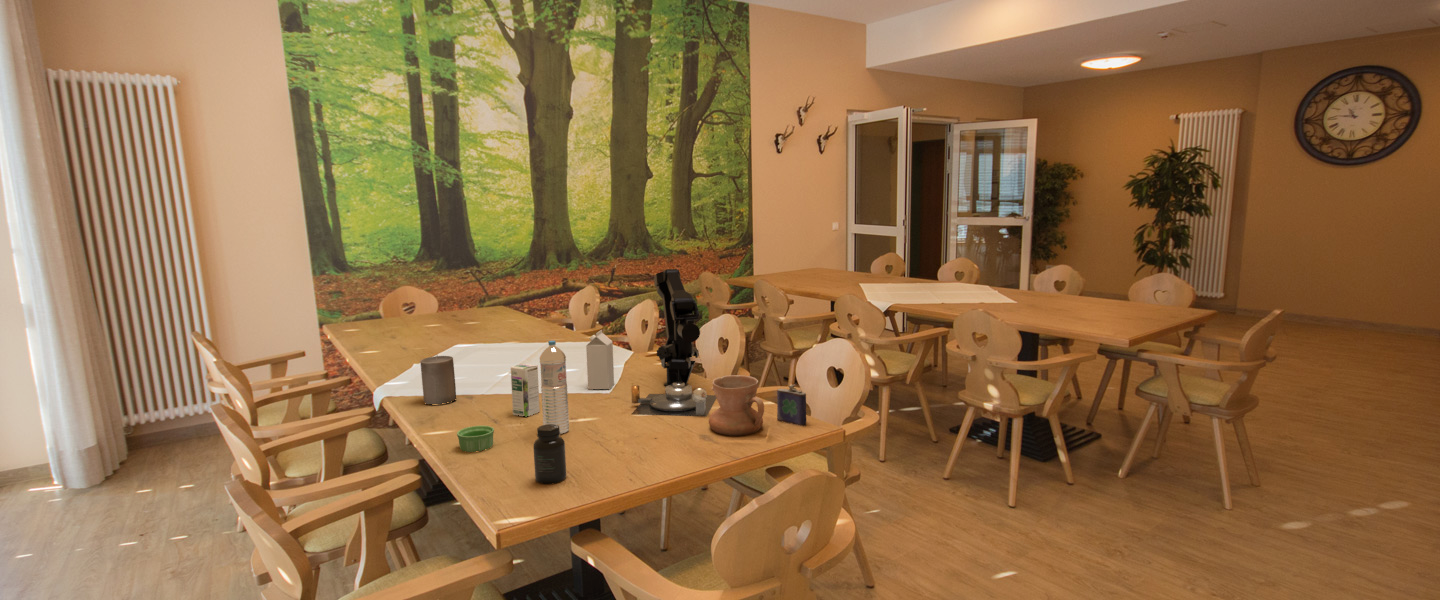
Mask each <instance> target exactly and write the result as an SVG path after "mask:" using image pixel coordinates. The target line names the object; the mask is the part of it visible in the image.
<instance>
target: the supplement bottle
mask: <svg viewBox="0 0 1440 600" xmlns="http://www.w3.org/2000/svg"><path fill="white" fill-rule="evenodd" d="M536 431H537V434H536V435H537V439H536V440H535V441H534V442H533V460H534V461H533V462H534V463H533V464H534V477H535V482H537V483H538V482H539V484H541V483H543V484H542V485H553V484H552V483H554V484H558V483H561V482H563V481H564V480H565V479H566V478H567V461H566V460H567V459H566V444H565V439H564V438H563V436H562V437H561V436H560V435H561V434H560V429H559V426H558V425H555V424H548V425H543V424H542V425H540V426H538V427H537V430H536ZM562 480H563V481H562ZM560 481H561V482H560ZM557 482H558V483H557Z"/></svg>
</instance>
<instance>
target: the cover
mask: <svg viewBox="0 0 1440 600" xmlns="http://www.w3.org/2000/svg"><path fill="white" fill-rule="evenodd" d="M692 393H693V385H691V384H689V383H687V384H685V383H684V382H674V383H673V384H671V385H668V386H665V394H666V398H667V399H670V400H686V399H689V398H691V397H692Z"/></svg>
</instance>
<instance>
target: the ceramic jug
mask: <svg viewBox="0 0 1440 600" xmlns="http://www.w3.org/2000/svg"><path fill="white" fill-rule="evenodd" d="M758 388H759V380H758V379H757V378H756V377H753V376H751V375H750V376H749V375H742V374H741V375H739V374H738V375H737V374H736V375H734V374H731V375H730V374H729V375H724V376H721V377H716V378H714V379H712V386H711V388H710V389H711V391H712V392H714V395H715V396H716V398H717V399H716V401H717V403H718V405H719V407H718V408H717V409H715V410H714V411H713V412H712V413H710V416H709V418H708V424H709V427H710V429H711V430H712V431H713V432H715V433H717V434H719V435H723V436H730V437H732V436H733V437H739V436H740V437H742V436H749V435H752V434H755V433H757V432H758V431H760V430H761V429H762V427H763V424H764V419H763V417H764V414H765V404H764V401H763V399H762V398H760V397H759V396H757V392H758ZM753 403H755V404H756V405H757V406H756V407H757V410H756V409H754V408H753V407H752V406H753Z"/></svg>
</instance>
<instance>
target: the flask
mask: <svg viewBox="0 0 1440 600" xmlns="http://www.w3.org/2000/svg"><path fill="white" fill-rule="evenodd" d="M795 386H796V384H791V385H788V388H789V389H787V388H778V389H777V390H776V394H777V395H776V397H777V412H776V413H777V416H776V417H777V418H776V419H777V421H778V422H780V423H781V422H783V423H786V424H791V425H796V426H799V427H805V426H807V394H806V392H803V391H802V390H798V389H797V388H795Z"/></svg>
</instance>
